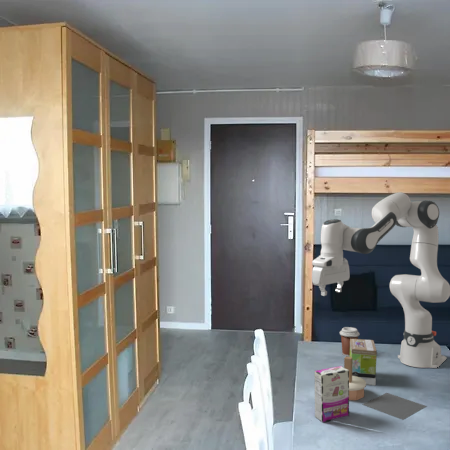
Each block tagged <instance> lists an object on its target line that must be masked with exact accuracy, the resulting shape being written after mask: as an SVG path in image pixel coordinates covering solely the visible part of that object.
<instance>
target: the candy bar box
mask: <svg viewBox="0 0 450 450" xmlns="http://www.w3.org/2000/svg"><path fill="white" fill-rule="evenodd" d="M349 415H350V400H349V370H348V369H346V368H344V366H342V365H340V366H334V367H328V368H323V369H319V370H318V369H317V370H314V418H316V419H317V420H319V421H320V422H321V423H326V422H331V421H332V420H333V419H338V418H342V417H349Z"/></svg>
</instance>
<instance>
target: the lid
mask: <svg viewBox="0 0 450 450" xmlns="http://www.w3.org/2000/svg"><path fill="white" fill-rule="evenodd" d="M343 360H344V361H343V365H344V366H343V367H344V368H346V369H348V370H349V391H356V390H361V389H364V390H365V388H366V386H367V385H366V381H365V380H364V379H362V378H360V377H357V376H352V357H350V356H345V357H344V359H343Z"/></svg>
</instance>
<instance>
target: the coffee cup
mask: <svg viewBox="0 0 450 450" xmlns="http://www.w3.org/2000/svg"><path fill="white" fill-rule="evenodd" d="M360 334H361V333H360V332H359V330H358V329H357V328H356V327H352V326H350V327H349V326H344V327H343V328H341V330H340V331H339V335H340V337H341V353H342V355H343V356H345V357H346V356H347V357H350V339H359V336H360Z"/></svg>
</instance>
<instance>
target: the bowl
mask: <svg viewBox="0 0 450 450" xmlns="http://www.w3.org/2000/svg"><path fill="white" fill-rule="evenodd" d="M364 397H365V388H364V389H361V390H356V391H349V401H358V400H360V399H362V398H364Z"/></svg>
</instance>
